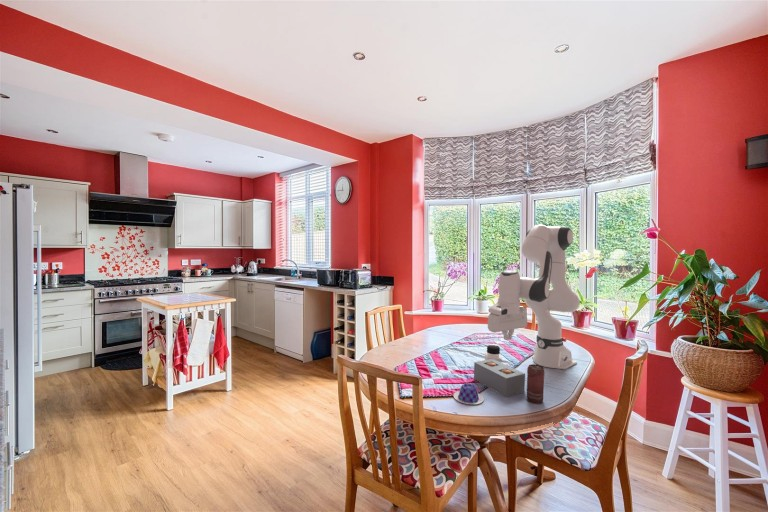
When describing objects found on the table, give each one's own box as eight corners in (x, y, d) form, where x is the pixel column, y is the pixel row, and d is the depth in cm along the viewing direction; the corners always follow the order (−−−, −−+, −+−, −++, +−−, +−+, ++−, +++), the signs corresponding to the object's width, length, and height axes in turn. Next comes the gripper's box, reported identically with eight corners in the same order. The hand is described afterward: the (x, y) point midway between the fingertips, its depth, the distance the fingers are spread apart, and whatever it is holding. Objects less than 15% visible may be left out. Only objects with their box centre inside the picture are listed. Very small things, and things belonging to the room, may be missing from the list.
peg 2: (505, 385, 146) (506, 368, 145) (513, 389, 142) (513, 372, 142) (499, 387, 144) (499, 370, 143) (506, 390, 140) (506, 373, 140)
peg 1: (490, 377, 154) (491, 361, 153) (497, 380, 150) (497, 364, 150) (484, 379, 152) (484, 363, 151) (490, 382, 148) (491, 366, 148)
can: (523, 397, 136) (524, 363, 136) (537, 396, 137) (539, 363, 136) (530, 404, 130) (532, 369, 130) (546, 404, 131) (547, 369, 130)
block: (491, 375, 158) (492, 358, 158) (524, 391, 141) (525, 373, 140) (473, 379, 153) (474, 362, 153) (505, 397, 136) (506, 378, 136)
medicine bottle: (501, 372, 161) (502, 348, 160) (485, 371, 162) (486, 347, 161) (499, 367, 168) (499, 344, 167) (484, 366, 169) (485, 343, 168)
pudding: (449, 392, 140) (449, 380, 140) (476, 391, 142) (476, 379, 142) (460, 407, 128) (460, 394, 128) (489, 405, 130) (489, 392, 130)
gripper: (519, 304, 150) (518, 334, 151) (485, 308, 141) (484, 340, 142) (531, 307, 144) (530, 338, 145) (496, 312, 135) (495, 345, 136)
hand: (507, 339), depth 143 cm, fingers closed
